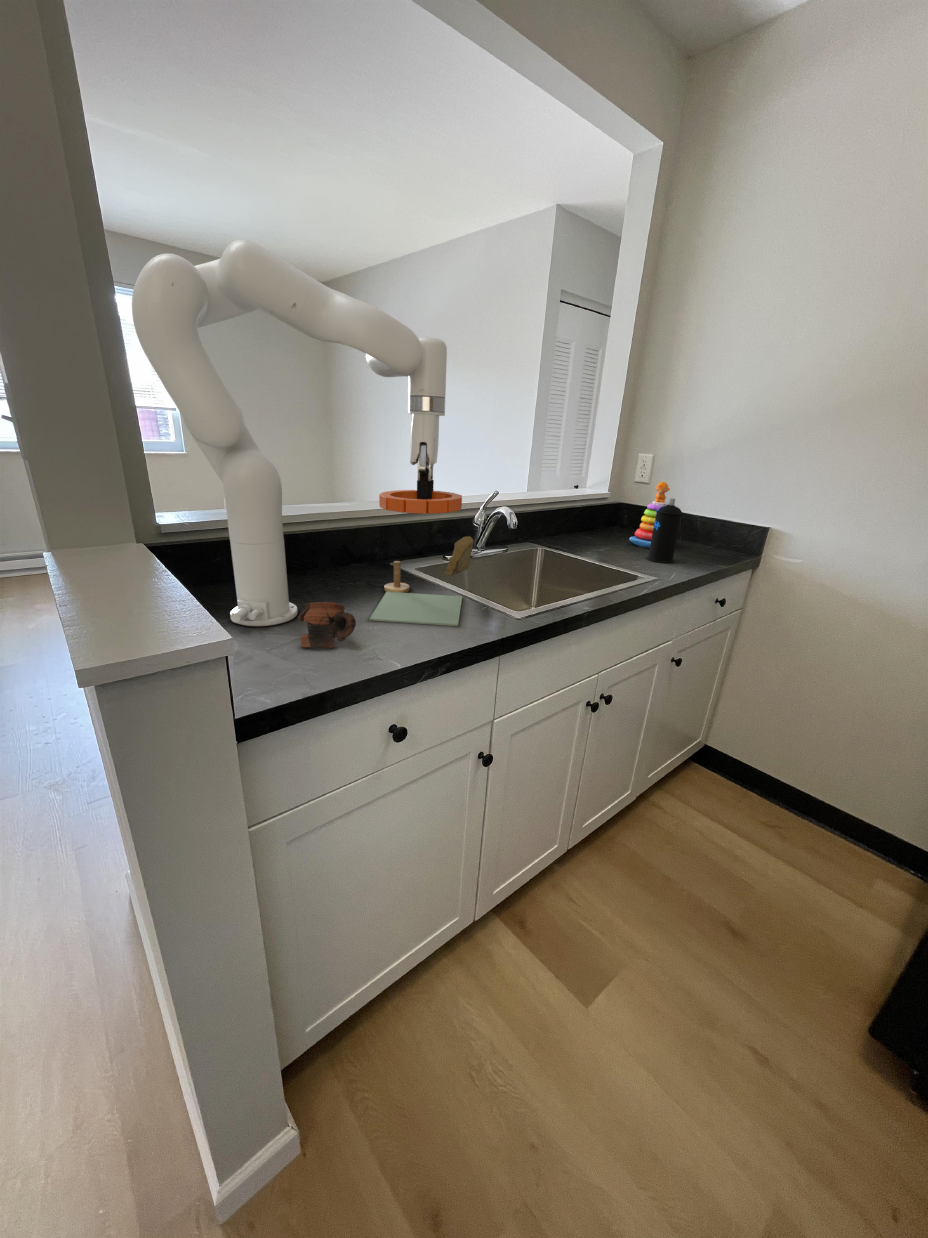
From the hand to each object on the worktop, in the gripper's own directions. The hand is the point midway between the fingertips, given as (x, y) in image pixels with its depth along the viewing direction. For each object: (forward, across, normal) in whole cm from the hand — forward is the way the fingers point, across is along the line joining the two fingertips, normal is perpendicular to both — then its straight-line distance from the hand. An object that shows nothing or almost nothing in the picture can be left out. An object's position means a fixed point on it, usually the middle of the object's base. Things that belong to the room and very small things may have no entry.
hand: (425, 498), depth 108 cm
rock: (+23, -24, +6) cm, 34 cm away
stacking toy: (+23, -76, +76) cm, 110 cm away
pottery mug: (+23, +28, -14) cm, 39 cm away
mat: (+23, +8, 0) cm, 24 cm away
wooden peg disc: (+23, -4, -7) cm, 24 cm away
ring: (+1, +7, 0) cm, 7 cm away
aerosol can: (+23, -53, +72) cm, 93 cm away
